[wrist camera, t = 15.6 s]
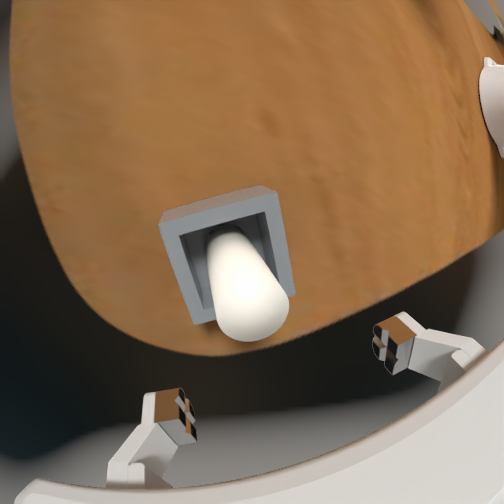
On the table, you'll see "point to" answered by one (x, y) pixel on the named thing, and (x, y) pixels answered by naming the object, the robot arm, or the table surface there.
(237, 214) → the sleeve holder
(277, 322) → the cream peg
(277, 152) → the table surface
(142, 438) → the robot arm
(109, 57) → the table surface
